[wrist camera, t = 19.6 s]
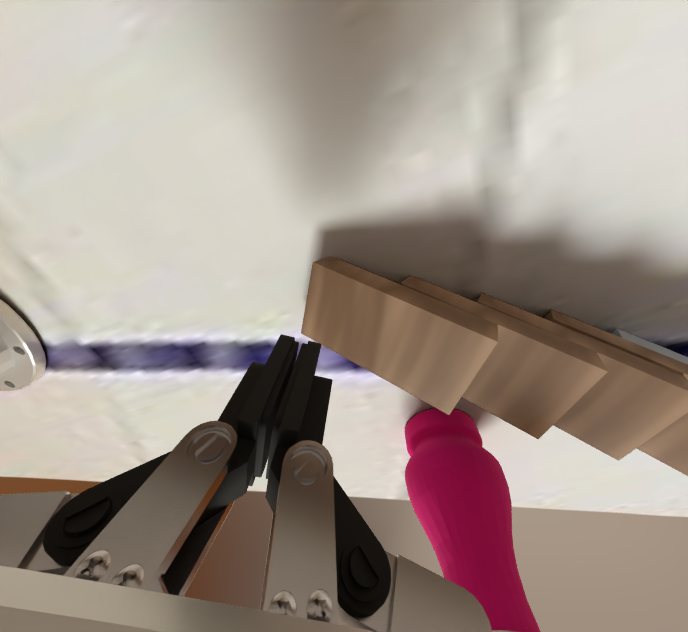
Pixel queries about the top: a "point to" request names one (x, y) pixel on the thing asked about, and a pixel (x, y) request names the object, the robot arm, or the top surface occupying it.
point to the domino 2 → (524, 367)
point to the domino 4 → (684, 434)
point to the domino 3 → (614, 392)
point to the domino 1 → (397, 332)
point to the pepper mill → (467, 514)
